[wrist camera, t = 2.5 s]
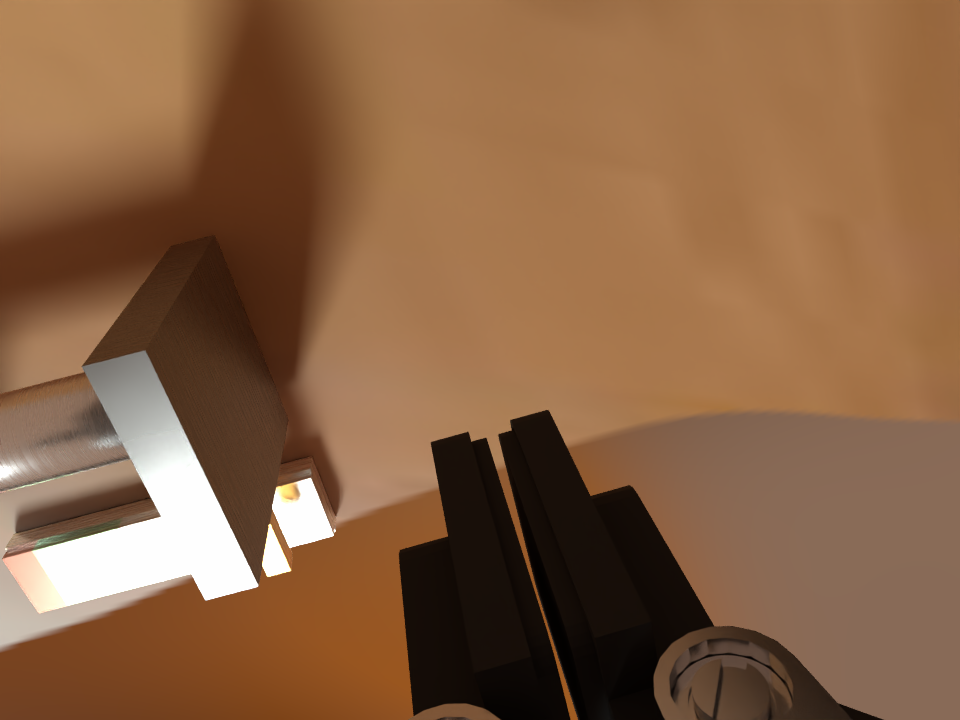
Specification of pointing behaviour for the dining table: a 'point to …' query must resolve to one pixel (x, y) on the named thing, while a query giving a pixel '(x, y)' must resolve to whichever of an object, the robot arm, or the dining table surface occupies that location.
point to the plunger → (171, 420)
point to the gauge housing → (143, 543)
